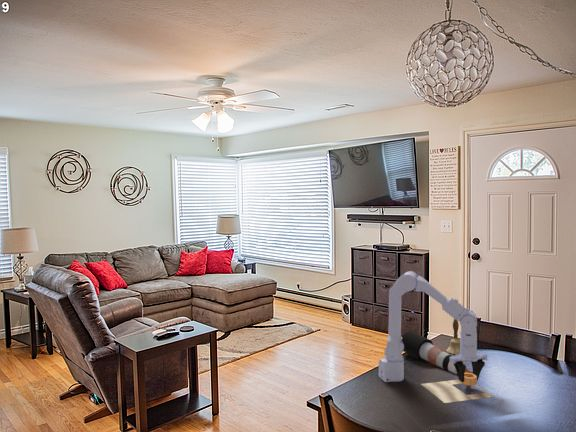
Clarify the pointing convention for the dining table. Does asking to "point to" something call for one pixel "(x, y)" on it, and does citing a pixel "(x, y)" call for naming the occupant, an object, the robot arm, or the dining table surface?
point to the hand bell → (454, 340)
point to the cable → (427, 351)
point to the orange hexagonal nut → (469, 379)
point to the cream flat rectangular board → (453, 391)
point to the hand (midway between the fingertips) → (468, 380)
